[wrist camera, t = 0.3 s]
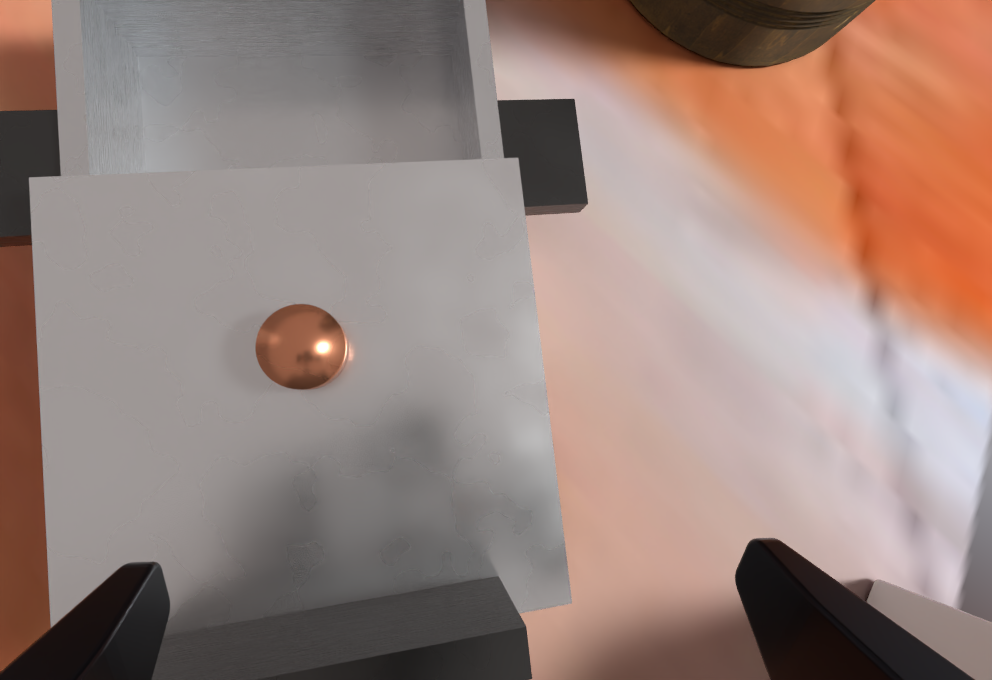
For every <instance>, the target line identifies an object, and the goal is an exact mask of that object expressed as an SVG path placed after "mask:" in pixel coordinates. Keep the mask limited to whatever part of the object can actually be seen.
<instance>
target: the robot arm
mask: <svg viewBox="0 0 992 680" xmlns="http://www.w3.org/2000/svg"><path fill="white" fill-rule="evenodd" d="M735 581H736V586H737V590H738V592H739V595H740V598H741V601H742V603H743V606H744V609H745V612H746V615H747V617H748V620H749V623H750V626H751V628H752V631H753V634H754V637H755V639H756V642H757V645H758V648H759V650H760V653H761V656H762V659H763V661H764V664H765V667H766V669H767V672H768V674H769V677H770V680H975V679H974V678H972V677H971V676H969V675H968V674H967V673H965V672H964V671H962V670H961V669H960V668H958V667H957V666H955V665H954V664H953V663H951V662H950V661H948V660H947V659H946V658H944V657H943V656H941V655H940V654H939V653H937V652H936V651H934V650H933V649H932V648H930V647H929V646H927V645H926V644H925V643H923V642H922V641H920V640H919V639H917V638H916V637H915V636H913V635H912V634H910V633H909V632H908V631H906V630H905V629H903V628H902V627H901V626H899V625H898V624H896V623H895V622H894V621H892V620H891V619H889V618H888V617H887V616H885V615H884V614H882V613H881V612H880V611H878V610H877V609H875V608H874V607H873V606H871V605H870V604H868V603H867V602H866V601H864V600H863V599H861V598H860V597H859V596H857V595H856V594H854V593H853V592H852V591H850V590H849V589H847V588H846V587H845V586H843V585H842V584H840V583H839V582H838V581H836V580H835V579H833V578H832V577H831V576H829V575H828V574H826V573H825V572H824V571H822V570H821V569H819V568H818V567H817V566H815V565H814V564H812V563H811V562H810V561H808V560H807V559H805V558H804V557H803V556H801V555H800V554H798V553H797V552H796V551H794V550H793V549H791V548H790V547H789V546H787V545H786V544H784V543H783V542H781V541H780V540H778V539H775V538H757V539H752V540H751V541H750V542H749V543H748V545H747V547H746V549H745V552H744V554H743V556H742V558H741V561H740V563H739V565H738V567H737V570H736V574H735ZM169 613H170V598H169V594H168V590H167V586H166V582H165V578H164V575H163V571H162V568H161V565H160V564H159V563H157V562H131V563H127V564H125V565H123V566H121V567H120V568H119V569H117V570H116V571H115V572H114V573H113V574H112V575H110V576H109V577H108V578H107V579H106V580H105V581H104V582H103V583H101V584H100V585H99V586H98V587H97V588H96V589H95V590H93V591H92V592H91V593H90V594H89V595H88V596H87V597H85V598H84V599H83V600H82V601H81V602H80V603H79V604H77V605H76V606H75V607H74V608H73V609H72V610H71V611H69V612H68V613H67V614H66V615H65V616H64V617H63V618H61V619H60V620H59V621H58V622H57V623H56V624H55V625H54V626H52V627H51V628H50V629H49V630H48V631H47V632H46V633H44V634H43V635H42V636H41V637H40V638H39V639H38V640H36V641H35V642H34V643H33V644H32V645H31V646H30V647H28V648H27V649H26V650H25V651H24V652H23V653H22V654H20V655H19V656H18V657H17V658H16V659H15V660H14V661H13V662H11V663H10V664H9V665H8V666H7V667H6V668H5V669H3V670H2V671H1V672H0V680H152V676H153V673H154V669H155V665H156V662H157V658H158V654H159V651H160V647H161V644H162V640H163V636H164V633H165V629H166V625H167V622H168V618H169Z"/></svg>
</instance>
